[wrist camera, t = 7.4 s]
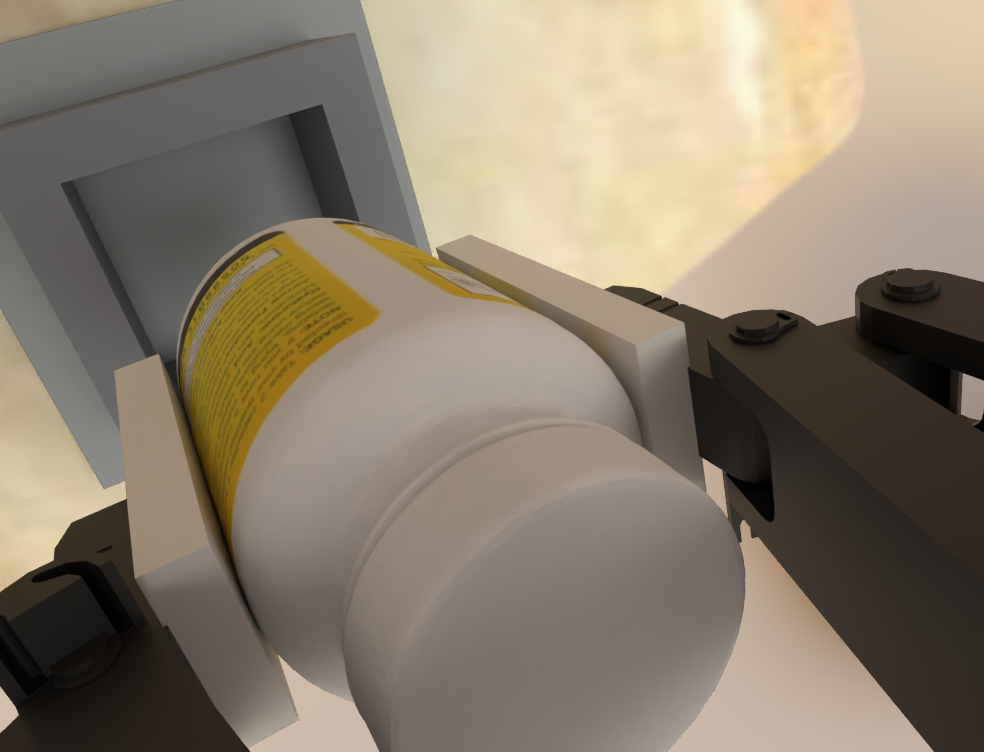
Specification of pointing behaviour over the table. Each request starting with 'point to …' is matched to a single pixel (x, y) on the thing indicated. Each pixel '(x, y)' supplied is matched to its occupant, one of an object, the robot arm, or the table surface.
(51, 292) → the socket board
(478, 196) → the table surface
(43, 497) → the table surface
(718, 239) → the table surface
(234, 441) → the supplement bottle
